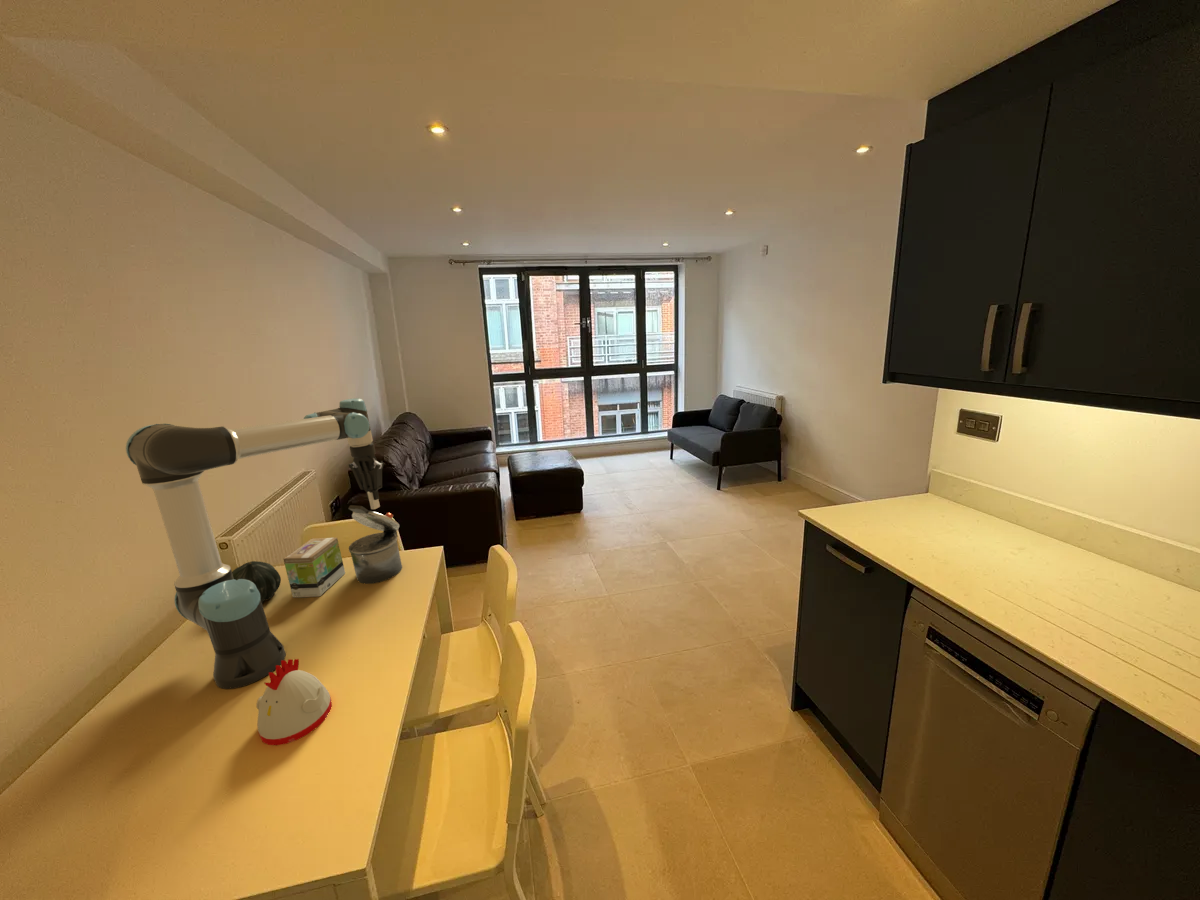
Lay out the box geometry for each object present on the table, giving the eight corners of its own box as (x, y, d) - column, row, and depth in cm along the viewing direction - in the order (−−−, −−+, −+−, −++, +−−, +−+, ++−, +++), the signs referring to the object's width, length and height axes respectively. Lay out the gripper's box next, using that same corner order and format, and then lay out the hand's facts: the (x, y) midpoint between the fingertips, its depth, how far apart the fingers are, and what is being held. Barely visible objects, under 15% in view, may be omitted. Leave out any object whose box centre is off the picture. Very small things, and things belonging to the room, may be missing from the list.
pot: (382, 586, 156) (375, 554, 153) (345, 582, 161) (338, 551, 157) (414, 561, 172) (408, 532, 169) (380, 558, 176) (373, 529, 173)
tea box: (321, 597, 152) (311, 557, 148) (292, 598, 153) (281, 558, 149) (346, 573, 167) (337, 536, 163) (319, 574, 167) (310, 537, 163)
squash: (236, 576, 159) (218, 559, 147) (286, 567, 164) (273, 550, 152) (232, 617, 152) (213, 603, 140) (285, 605, 157) (271, 591, 145)
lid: (373, 509, 152) (378, 500, 154) (335, 507, 156) (340, 498, 158) (407, 533, 168) (411, 524, 170) (372, 531, 172) (376, 522, 174)
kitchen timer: (243, 743, 98) (223, 685, 94) (293, 693, 112) (277, 640, 107) (301, 747, 96) (283, 688, 92) (345, 696, 109) (331, 642, 105)
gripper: (384, 441, 158) (398, 504, 165) (354, 441, 162) (368, 502, 169) (368, 447, 152) (383, 513, 158) (337, 447, 155) (352, 511, 162)
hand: (375, 507), depth 163 cm, fingers closed
